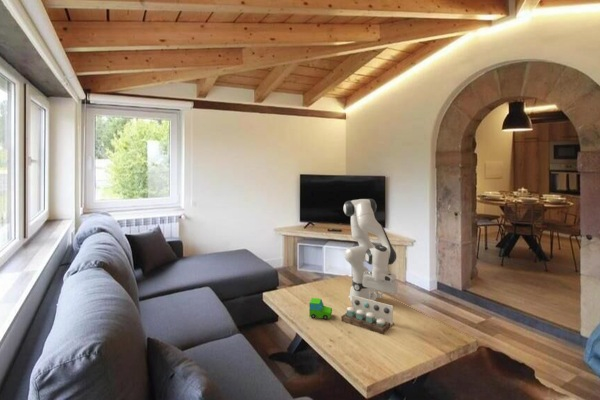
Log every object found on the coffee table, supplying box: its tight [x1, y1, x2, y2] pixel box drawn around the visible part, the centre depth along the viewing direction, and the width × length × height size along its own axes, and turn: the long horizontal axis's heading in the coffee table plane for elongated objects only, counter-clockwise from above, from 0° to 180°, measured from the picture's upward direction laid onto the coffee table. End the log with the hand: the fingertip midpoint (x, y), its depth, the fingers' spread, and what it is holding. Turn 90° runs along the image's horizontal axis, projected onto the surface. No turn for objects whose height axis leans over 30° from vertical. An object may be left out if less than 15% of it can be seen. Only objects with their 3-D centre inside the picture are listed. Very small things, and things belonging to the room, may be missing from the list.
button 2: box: [356, 309, 365, 320], centre depth 208 cm, size 5×5×4 cm
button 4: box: [376, 318, 385, 327], centre depth 200 cm, size 5×5×4 cm
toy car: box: [308, 297, 333, 321], centre depth 216 cm, size 10×13×10 cm
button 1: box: [346, 306, 355, 317], centre depth 212 cm, size 5×5×4 cm
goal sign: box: [351, 295, 395, 328], centre depth 213 cm, size 4×27×12 cm, turn 53°
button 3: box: [366, 312, 375, 323], centre depth 204 cm, size 5×5×4 cm
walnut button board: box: [340, 312, 391, 335], centre depth 206 cm, size 10×27×3 cm, turn 53°
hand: (379, 297), depth 200 cm, fingers closed
